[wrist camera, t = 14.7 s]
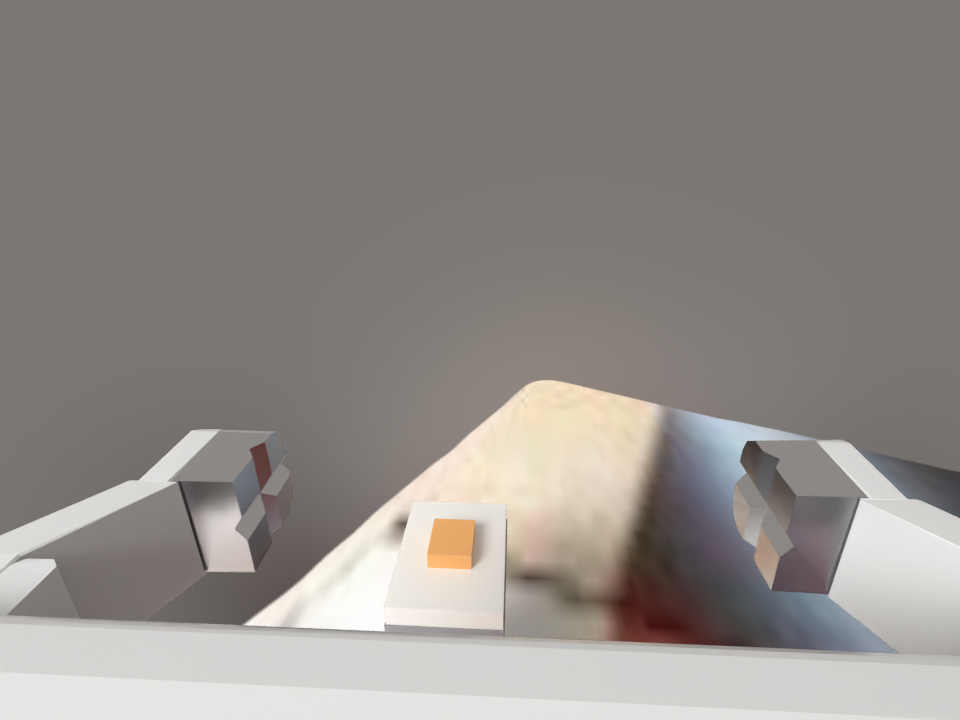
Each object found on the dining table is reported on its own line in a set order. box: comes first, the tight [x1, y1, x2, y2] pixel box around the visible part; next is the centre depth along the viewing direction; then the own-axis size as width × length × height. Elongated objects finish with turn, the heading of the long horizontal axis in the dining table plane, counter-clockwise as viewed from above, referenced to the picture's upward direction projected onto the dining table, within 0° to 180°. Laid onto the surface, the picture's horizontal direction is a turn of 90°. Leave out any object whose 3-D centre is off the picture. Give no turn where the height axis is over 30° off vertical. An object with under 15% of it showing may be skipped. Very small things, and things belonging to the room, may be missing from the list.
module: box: [384, 501, 507, 637], centre depth 28 cm, size 7×5×15 cm
